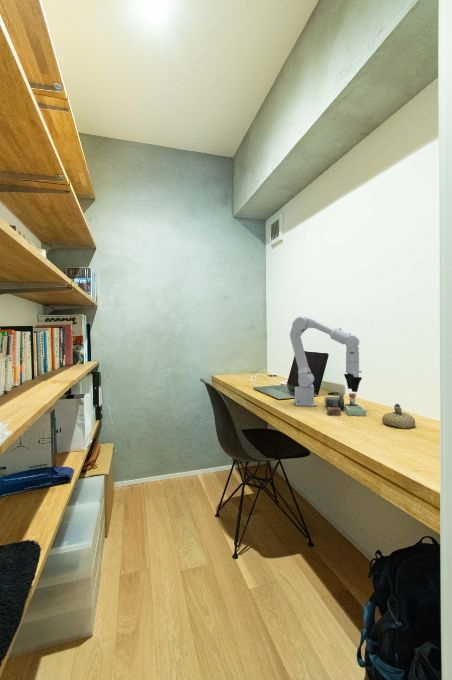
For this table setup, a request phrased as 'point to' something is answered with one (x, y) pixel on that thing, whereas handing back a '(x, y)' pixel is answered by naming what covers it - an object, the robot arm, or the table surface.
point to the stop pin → (352, 399)
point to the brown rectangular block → (333, 411)
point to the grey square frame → (349, 405)
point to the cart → (335, 401)
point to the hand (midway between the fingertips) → (352, 390)
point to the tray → (355, 411)
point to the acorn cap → (399, 418)
